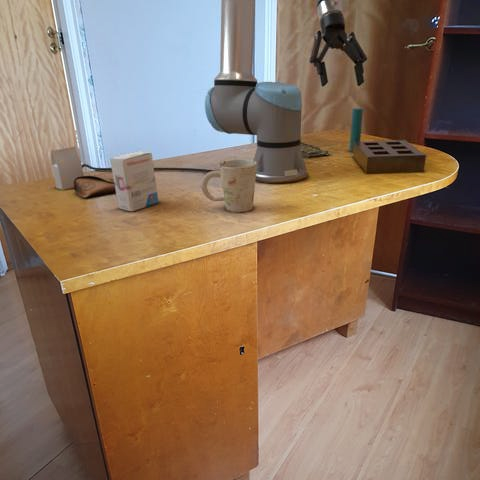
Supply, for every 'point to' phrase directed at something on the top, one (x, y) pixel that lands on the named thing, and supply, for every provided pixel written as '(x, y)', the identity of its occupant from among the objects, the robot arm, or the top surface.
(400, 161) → the peg board
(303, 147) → the keyboard
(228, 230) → the top surface
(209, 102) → the robot arm
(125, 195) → the ink box
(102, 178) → the sunglasses case
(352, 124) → the peg
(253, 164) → the mug
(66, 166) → the grey box
